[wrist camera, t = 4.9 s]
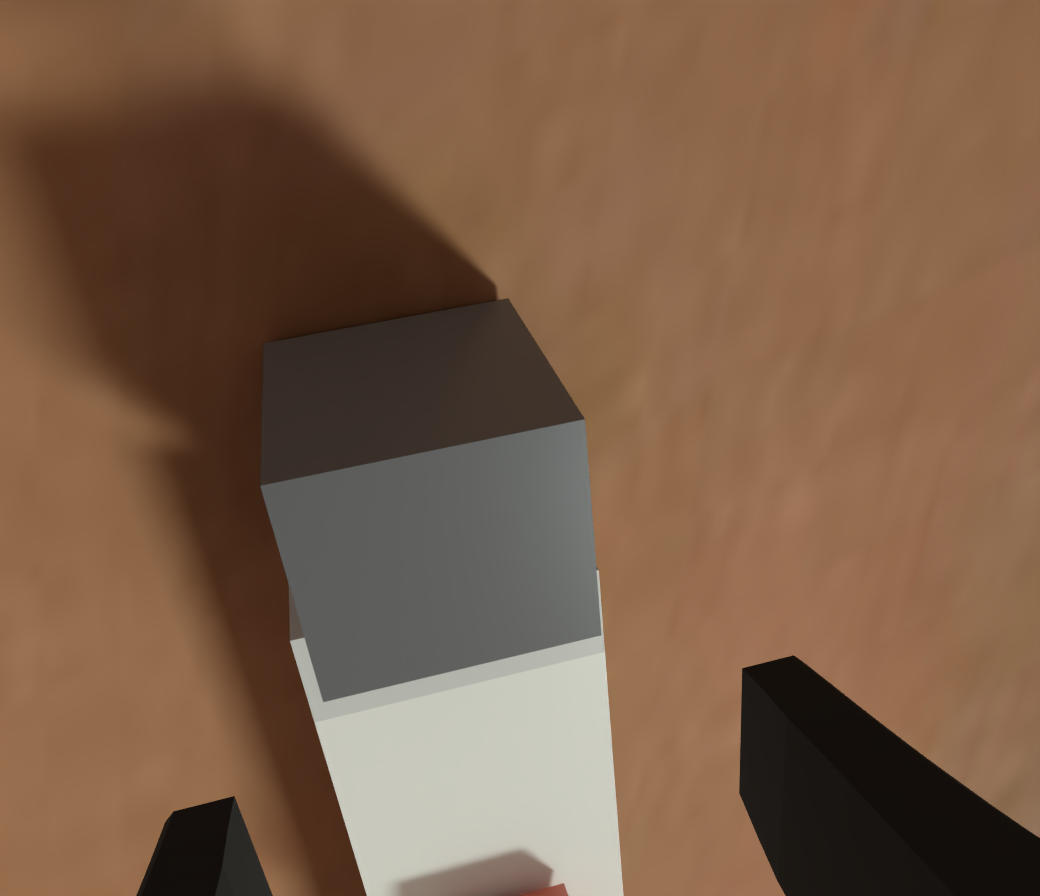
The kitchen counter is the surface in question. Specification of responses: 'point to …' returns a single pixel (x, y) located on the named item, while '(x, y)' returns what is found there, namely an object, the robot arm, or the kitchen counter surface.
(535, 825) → the power strip
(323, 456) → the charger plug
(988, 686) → the kitchen counter surface
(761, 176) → the kitchen counter surface
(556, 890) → the rocker switch
